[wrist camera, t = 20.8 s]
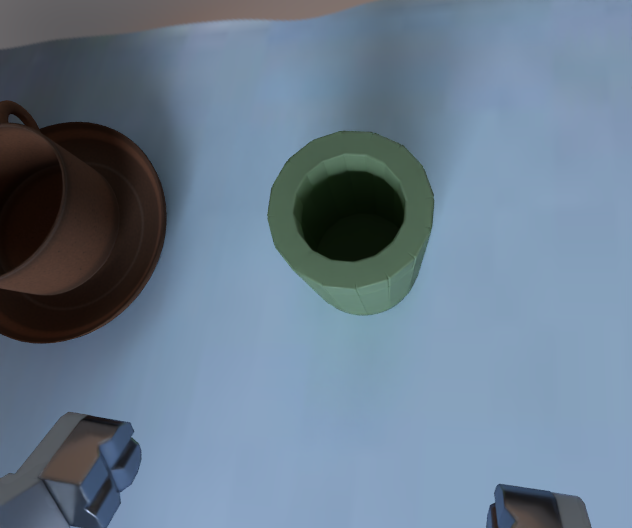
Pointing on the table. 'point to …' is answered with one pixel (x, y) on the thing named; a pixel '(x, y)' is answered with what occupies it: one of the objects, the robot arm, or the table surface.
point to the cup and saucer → (73, 226)
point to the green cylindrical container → (353, 219)
